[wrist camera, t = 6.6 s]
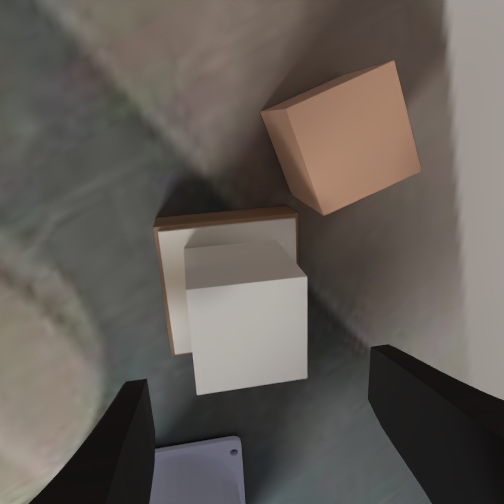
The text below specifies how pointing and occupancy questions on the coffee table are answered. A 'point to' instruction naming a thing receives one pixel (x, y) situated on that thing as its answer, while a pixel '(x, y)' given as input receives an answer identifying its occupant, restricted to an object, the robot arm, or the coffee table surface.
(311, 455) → the coffee table surface
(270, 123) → the terracotta block
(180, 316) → the plinth
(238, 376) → the stone block
